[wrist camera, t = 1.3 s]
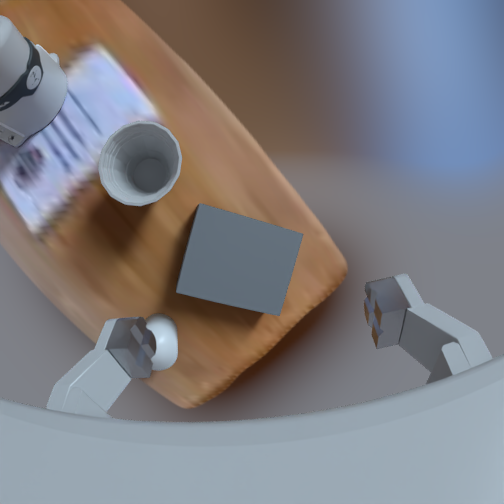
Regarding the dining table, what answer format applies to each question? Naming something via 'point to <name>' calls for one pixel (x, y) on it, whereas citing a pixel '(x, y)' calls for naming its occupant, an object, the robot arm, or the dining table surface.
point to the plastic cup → (140, 163)
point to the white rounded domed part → (163, 340)
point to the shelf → (238, 260)
